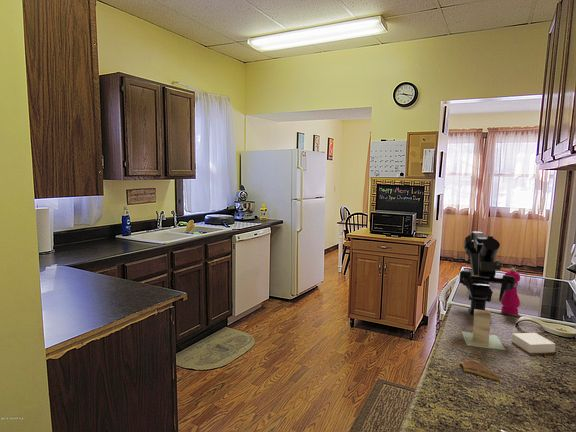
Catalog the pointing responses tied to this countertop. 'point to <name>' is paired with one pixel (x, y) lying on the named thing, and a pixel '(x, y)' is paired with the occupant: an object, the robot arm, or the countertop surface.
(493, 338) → the mat
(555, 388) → the countertop surface
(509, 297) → the pepper mill
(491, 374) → the shard
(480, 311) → the oak block
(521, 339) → the stand
